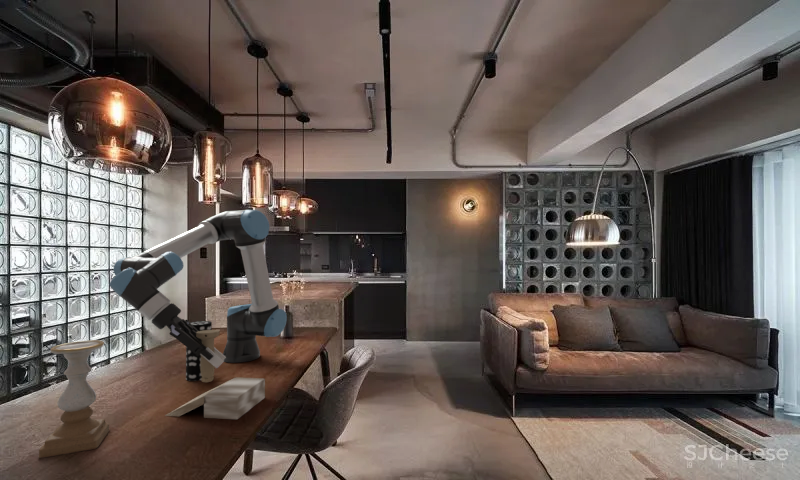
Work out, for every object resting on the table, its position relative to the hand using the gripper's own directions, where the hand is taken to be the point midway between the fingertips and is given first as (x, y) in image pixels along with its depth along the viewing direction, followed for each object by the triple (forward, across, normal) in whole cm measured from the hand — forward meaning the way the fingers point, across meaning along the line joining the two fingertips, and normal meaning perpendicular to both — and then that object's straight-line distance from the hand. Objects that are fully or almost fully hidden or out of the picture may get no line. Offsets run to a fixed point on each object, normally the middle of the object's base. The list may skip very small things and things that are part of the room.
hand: (221, 362), depth 119 cm
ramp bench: (+9, +2, -10) cm, 14 cm away
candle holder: (-12, +16, -30) cm, 36 cm away
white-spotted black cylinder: (+1, -29, -17) cm, 34 cm away
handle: (+1, 0, -7) cm, 7 cm away
